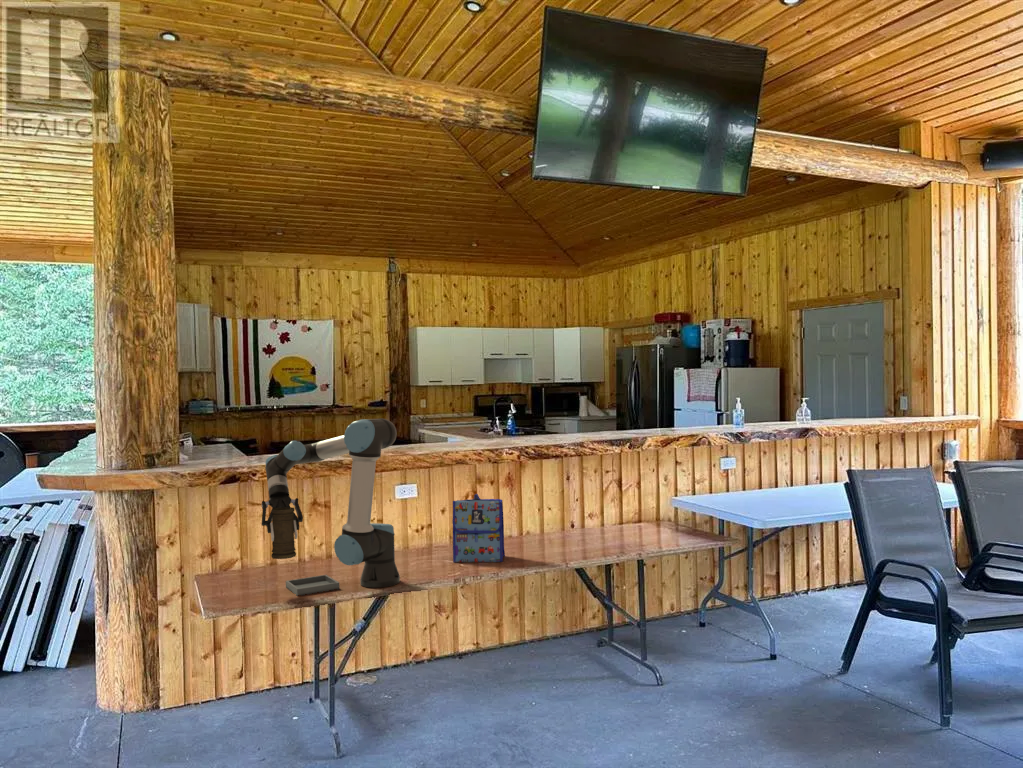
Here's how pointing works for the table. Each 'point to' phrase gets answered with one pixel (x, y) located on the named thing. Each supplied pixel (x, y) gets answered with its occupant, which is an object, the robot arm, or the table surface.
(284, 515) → the container
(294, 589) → the tray
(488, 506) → the lunch bag
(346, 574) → the table surface
